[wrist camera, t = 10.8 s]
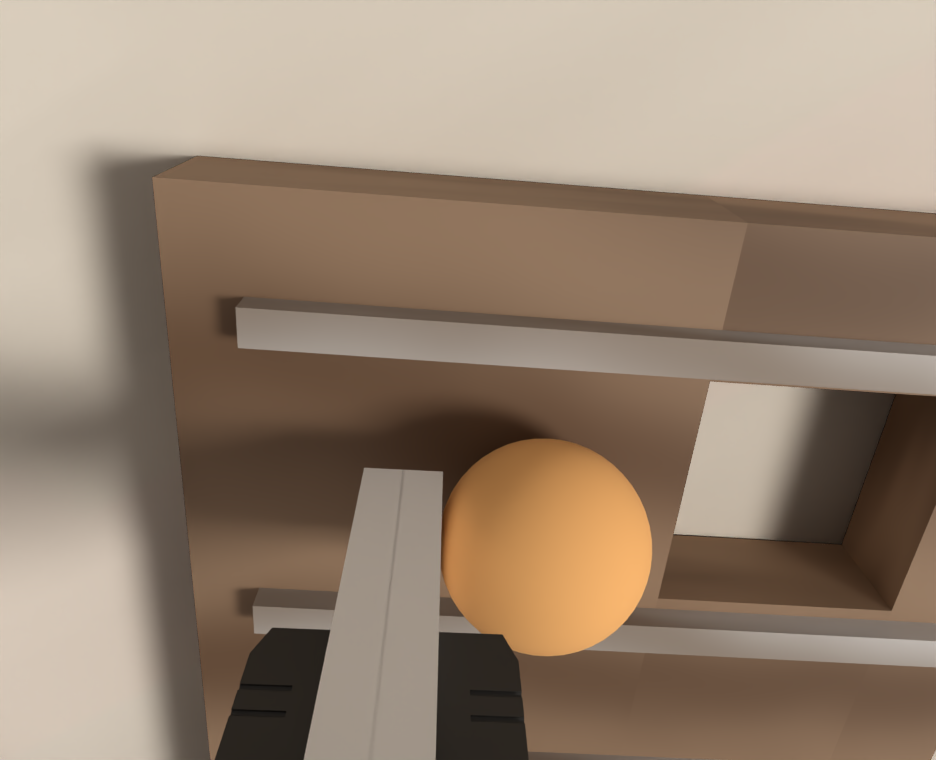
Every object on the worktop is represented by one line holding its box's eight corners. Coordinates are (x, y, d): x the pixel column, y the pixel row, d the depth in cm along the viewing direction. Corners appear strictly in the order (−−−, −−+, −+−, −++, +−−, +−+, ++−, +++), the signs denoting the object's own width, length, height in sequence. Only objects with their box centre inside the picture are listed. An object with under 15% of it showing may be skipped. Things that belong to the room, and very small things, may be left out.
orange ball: (469, 547, 17) (644, 589, 16) (403, 670, 14) (621, 734, 13) (480, 389, 16) (675, 425, 14) (408, 482, 12) (659, 538, 11)
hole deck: (791, 895, 26) (831, 998, 23) (250, 875, 25) (224, 980, 23) (1080, 224, 16) (1211, 265, 13) (197, 155, 15) (138, 183, 12)
